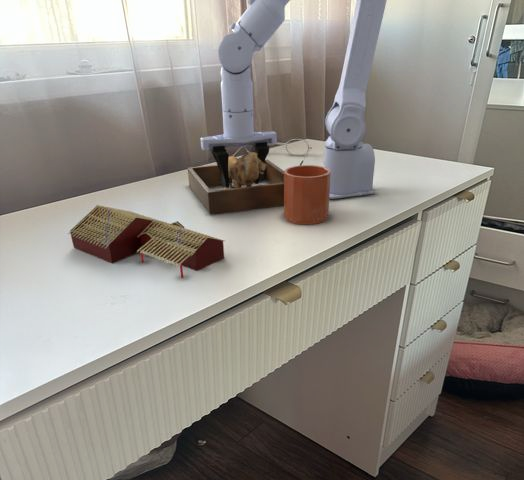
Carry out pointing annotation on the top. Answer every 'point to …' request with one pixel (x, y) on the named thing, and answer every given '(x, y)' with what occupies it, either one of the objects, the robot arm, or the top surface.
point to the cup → (306, 194)
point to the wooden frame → (236, 190)
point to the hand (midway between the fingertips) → (241, 184)
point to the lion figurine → (245, 169)
